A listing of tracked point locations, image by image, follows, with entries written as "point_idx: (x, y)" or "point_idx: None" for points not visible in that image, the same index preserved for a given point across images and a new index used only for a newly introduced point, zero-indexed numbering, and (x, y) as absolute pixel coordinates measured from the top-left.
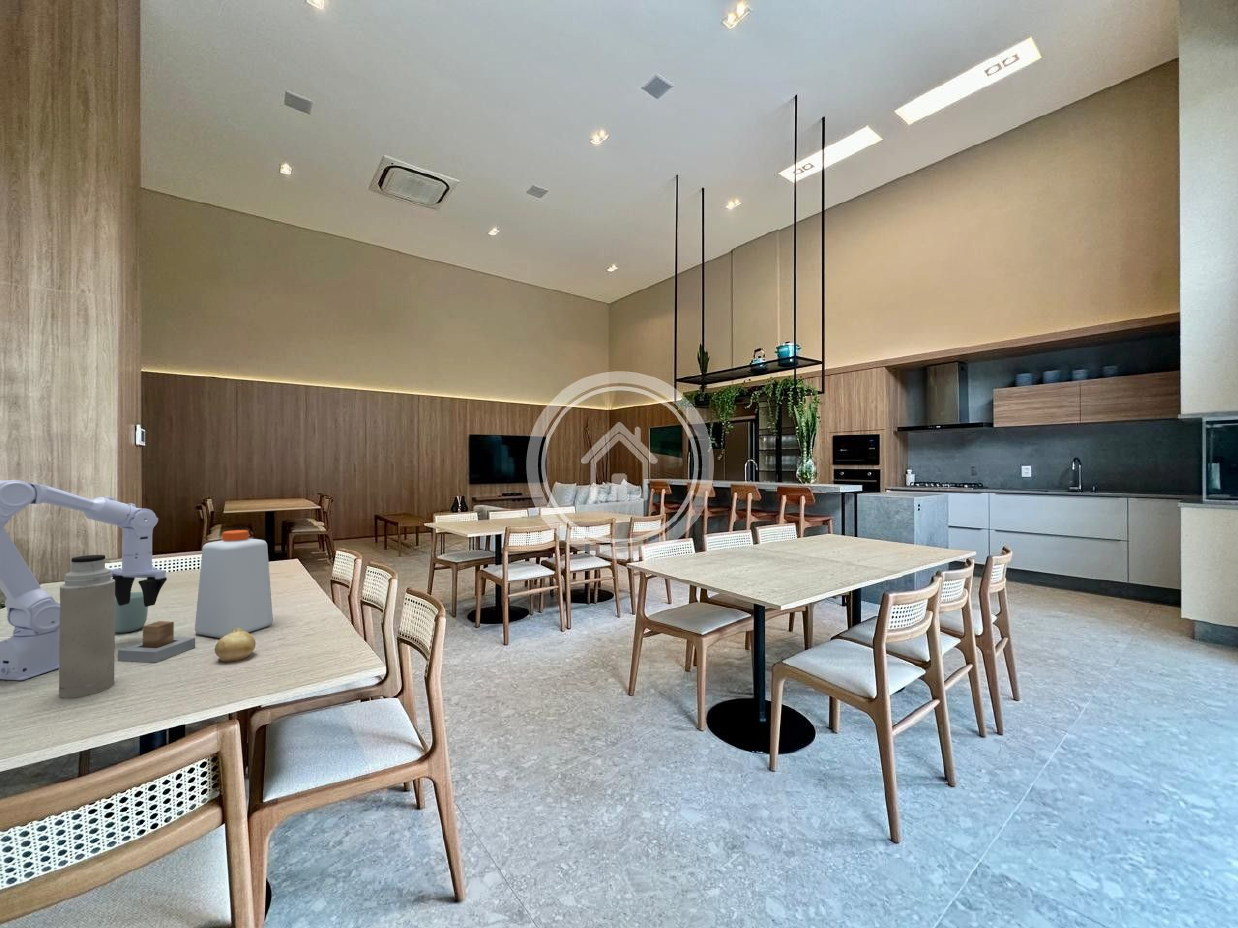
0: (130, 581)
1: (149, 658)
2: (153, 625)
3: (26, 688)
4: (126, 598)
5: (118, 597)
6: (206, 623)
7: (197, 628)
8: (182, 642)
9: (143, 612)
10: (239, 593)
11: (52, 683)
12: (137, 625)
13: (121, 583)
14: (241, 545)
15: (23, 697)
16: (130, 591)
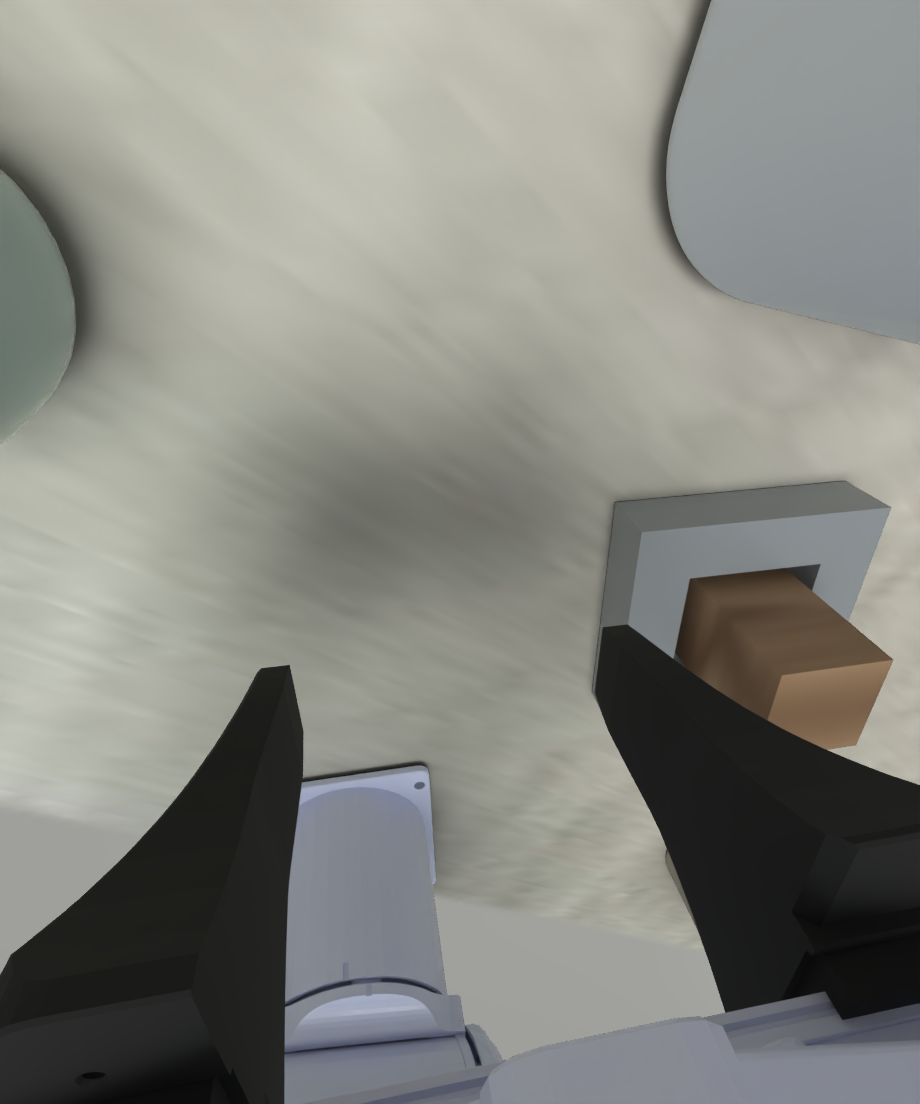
0: (240, 928)
1: None
2: (810, 737)
3: (522, 888)
4: (289, 739)
5: (294, 831)
6: (892, 333)
7: (756, 302)
8: (862, 582)
9: (11, 248)
10: None
11: (564, 853)
12: (71, 291)
13: (270, 1009)
14: None
15: (588, 908)
16: (264, 765)
